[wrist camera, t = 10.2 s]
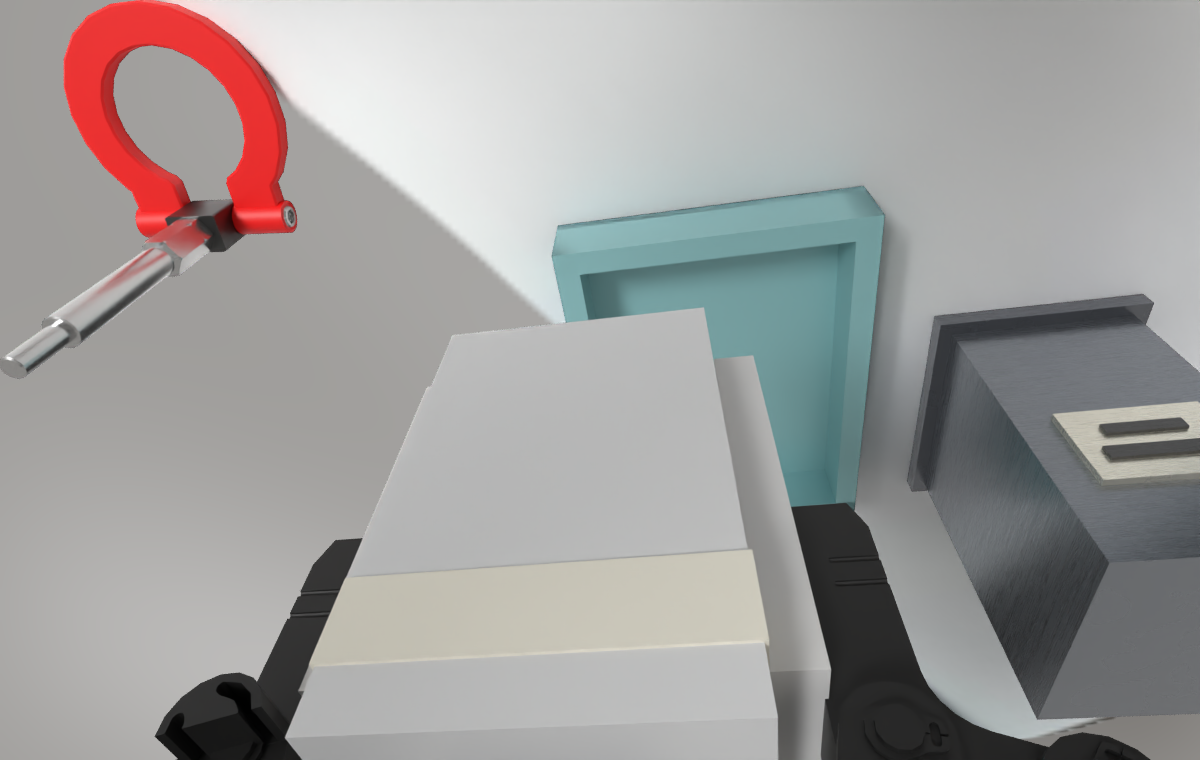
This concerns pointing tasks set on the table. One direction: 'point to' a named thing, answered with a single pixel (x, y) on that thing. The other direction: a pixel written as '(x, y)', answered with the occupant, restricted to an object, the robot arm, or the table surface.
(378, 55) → the table surface
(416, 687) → the white tall square block
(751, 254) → the parts tray
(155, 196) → the tow hook
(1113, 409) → the controller unit
